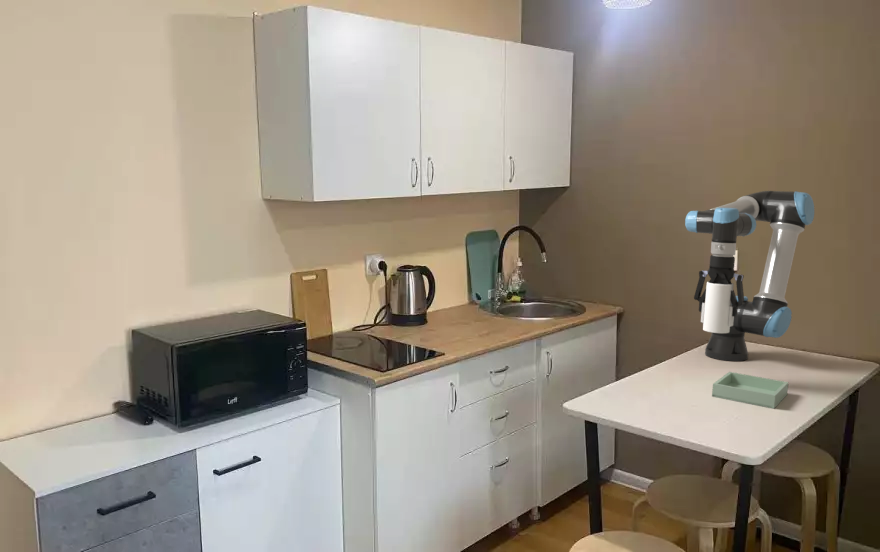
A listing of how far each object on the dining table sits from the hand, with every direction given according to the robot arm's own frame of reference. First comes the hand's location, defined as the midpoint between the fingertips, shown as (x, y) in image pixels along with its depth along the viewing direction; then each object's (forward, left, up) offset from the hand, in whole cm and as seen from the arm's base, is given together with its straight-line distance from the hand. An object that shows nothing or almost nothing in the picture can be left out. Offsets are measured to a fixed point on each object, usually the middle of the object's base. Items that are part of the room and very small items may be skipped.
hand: (716, 323), depth 238 cm
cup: (0, 0, -2) cm, 2 cm away
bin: (+8, +14, -20) cm, 25 cm away
